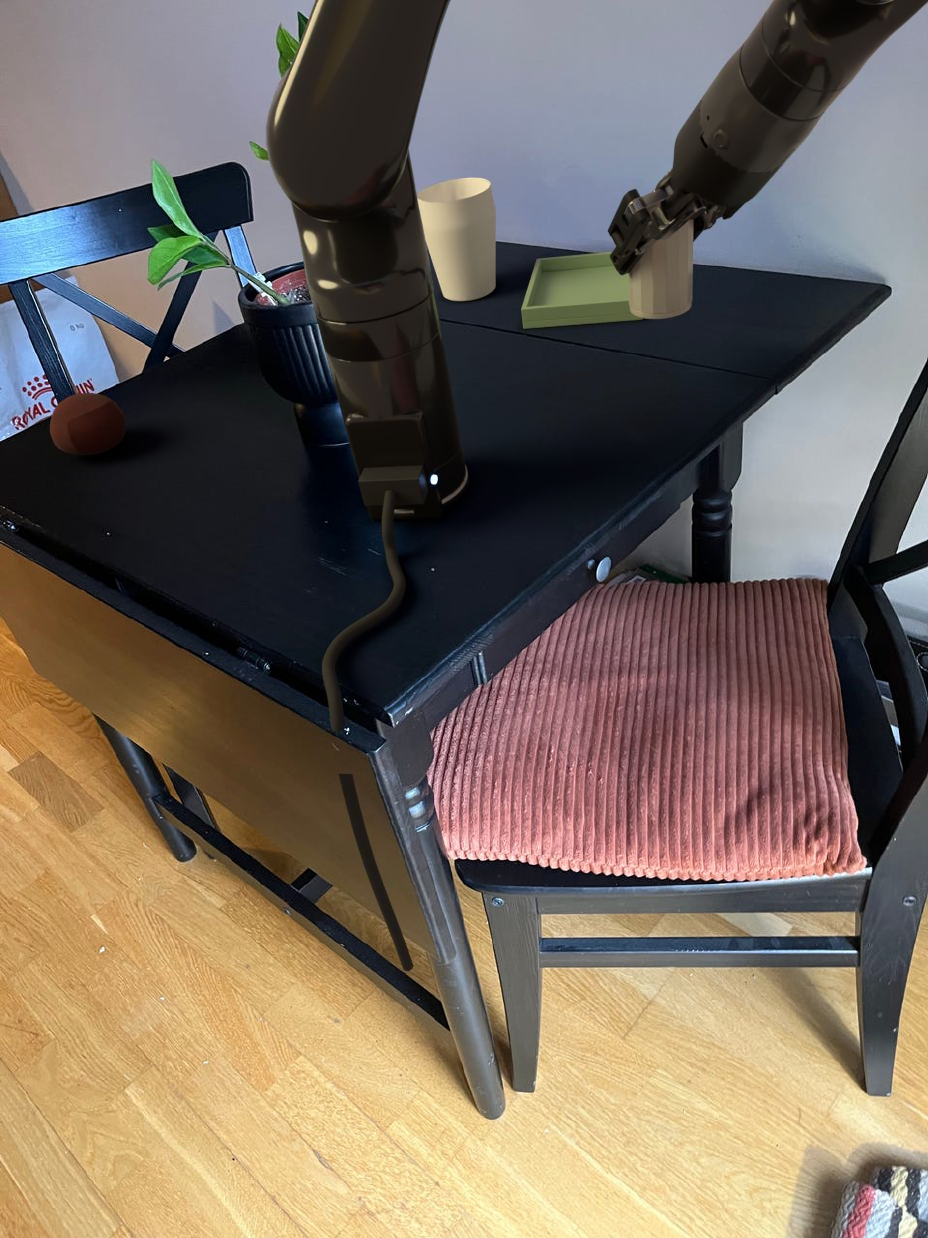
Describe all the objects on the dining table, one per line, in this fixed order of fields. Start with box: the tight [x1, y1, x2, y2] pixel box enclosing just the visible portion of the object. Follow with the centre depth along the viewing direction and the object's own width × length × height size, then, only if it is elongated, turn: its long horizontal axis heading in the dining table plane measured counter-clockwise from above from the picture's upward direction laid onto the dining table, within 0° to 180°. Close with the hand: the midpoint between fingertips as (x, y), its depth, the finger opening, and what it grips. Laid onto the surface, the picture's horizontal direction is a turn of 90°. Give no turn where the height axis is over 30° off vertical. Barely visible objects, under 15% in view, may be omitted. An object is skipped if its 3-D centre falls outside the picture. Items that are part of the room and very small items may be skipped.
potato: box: [49, 392, 127, 457], centre depth 95 cm, size 7×8×6 cm
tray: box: [520, 251, 644, 330], centre depth 106 cm, size 15×13×2 cm
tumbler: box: [628, 207, 694, 320], centre depth 80 cm, size 6×6×8 cm
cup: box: [417, 177, 497, 302], centre depth 110 cm, size 9×9×12 cm
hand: (647, 254), depth 81 cm, fingers closed on tumbler, 5 cm apart
